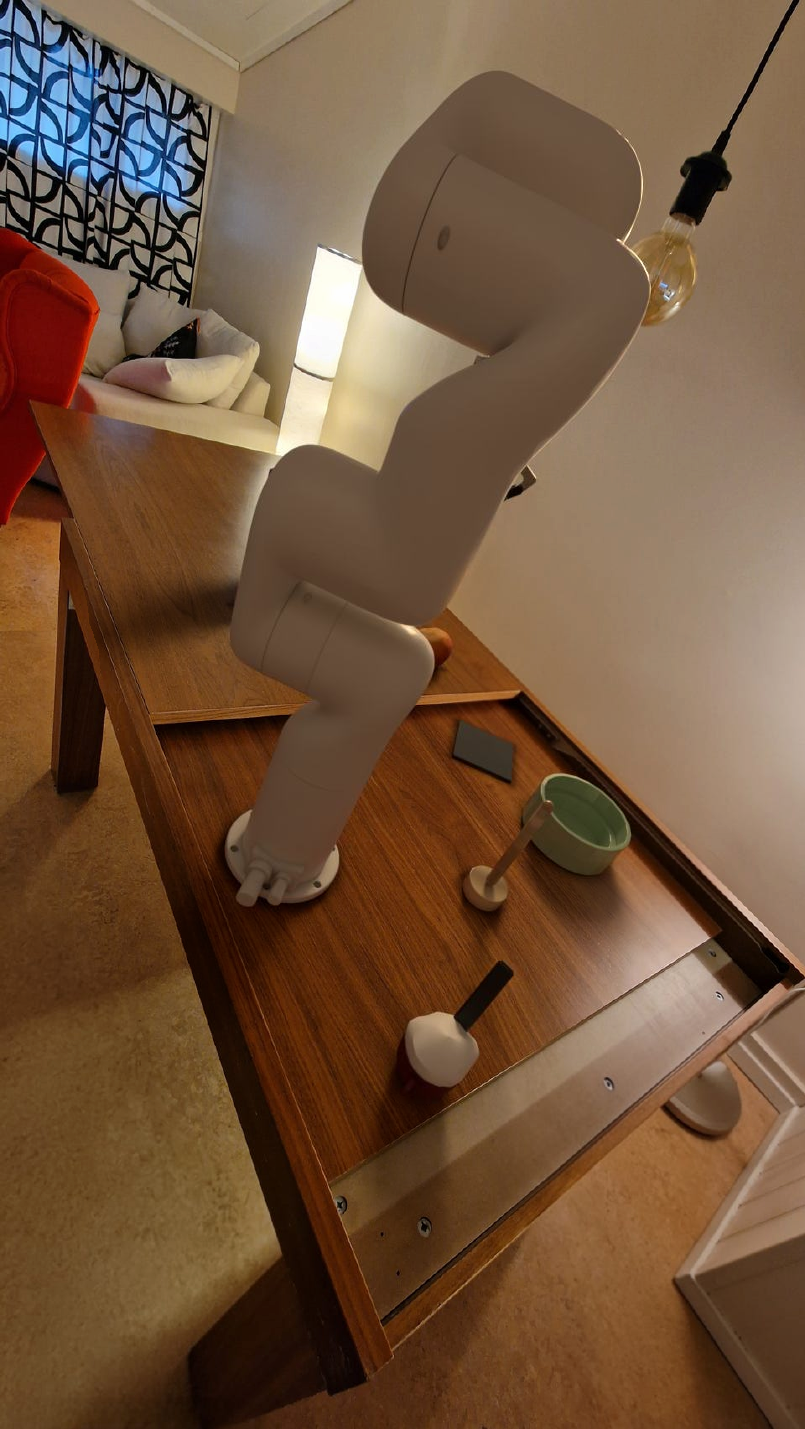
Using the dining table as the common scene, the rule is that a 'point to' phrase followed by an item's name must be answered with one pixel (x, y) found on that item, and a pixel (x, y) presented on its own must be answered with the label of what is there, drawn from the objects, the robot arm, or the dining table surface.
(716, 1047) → the dining table surface
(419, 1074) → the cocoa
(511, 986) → the dining table surface
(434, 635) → the fruit
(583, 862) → the bowl
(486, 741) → the mat
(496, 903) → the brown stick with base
